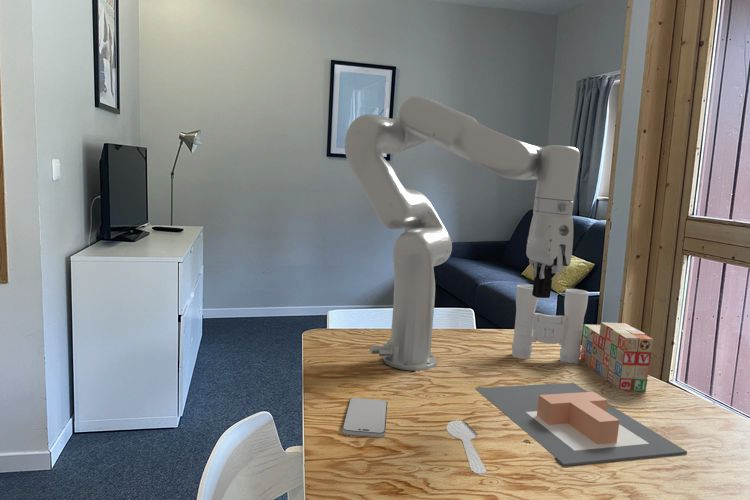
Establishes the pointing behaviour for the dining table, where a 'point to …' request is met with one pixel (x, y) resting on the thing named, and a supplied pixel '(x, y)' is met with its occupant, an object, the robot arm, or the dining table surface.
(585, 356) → the stack of blocks
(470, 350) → the dining table surface
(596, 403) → the t block
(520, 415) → the mat
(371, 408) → the smartphone
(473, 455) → the spoon
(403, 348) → the robot arm
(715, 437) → the dining table surface
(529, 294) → the binoculars
